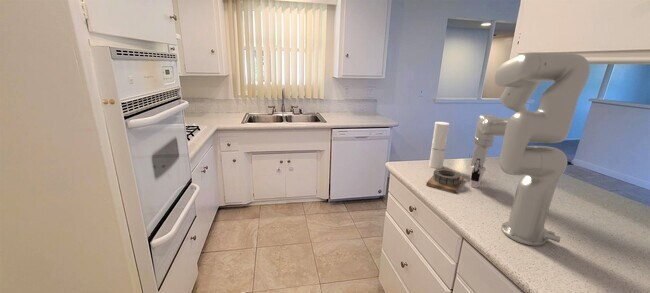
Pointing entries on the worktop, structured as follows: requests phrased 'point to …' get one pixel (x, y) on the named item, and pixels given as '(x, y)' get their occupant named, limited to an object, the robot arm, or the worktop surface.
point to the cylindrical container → (439, 144)
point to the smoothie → (475, 183)
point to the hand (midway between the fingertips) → (475, 177)
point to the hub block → (445, 180)
